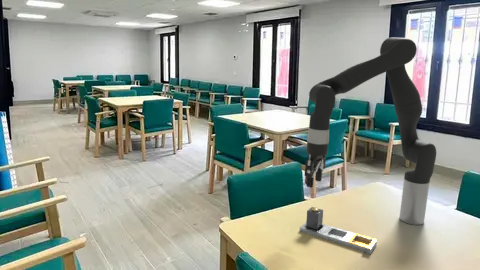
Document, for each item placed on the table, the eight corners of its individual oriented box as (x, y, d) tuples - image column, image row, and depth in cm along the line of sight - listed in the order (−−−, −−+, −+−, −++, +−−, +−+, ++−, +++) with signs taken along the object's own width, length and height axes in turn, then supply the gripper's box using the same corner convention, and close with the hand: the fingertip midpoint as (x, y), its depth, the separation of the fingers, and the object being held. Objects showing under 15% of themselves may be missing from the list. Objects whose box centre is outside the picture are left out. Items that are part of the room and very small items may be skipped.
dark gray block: (310, 226, 140) (312, 205, 138) (321, 229, 138) (323, 208, 136) (305, 230, 137) (307, 209, 135) (317, 234, 134) (318, 212, 132)
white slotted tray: (308, 224, 143) (308, 219, 142) (376, 245, 128) (377, 239, 128) (299, 232, 136) (299, 227, 136) (369, 254, 122) (370, 248, 121)
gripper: (320, 146, 122) (316, 191, 126) (334, 139, 134) (330, 181, 137) (300, 142, 126) (296, 186, 129) (315, 136, 138) (311, 176, 141)
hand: (314, 183), depth 133 cm, fingers open, 8 cm apart
